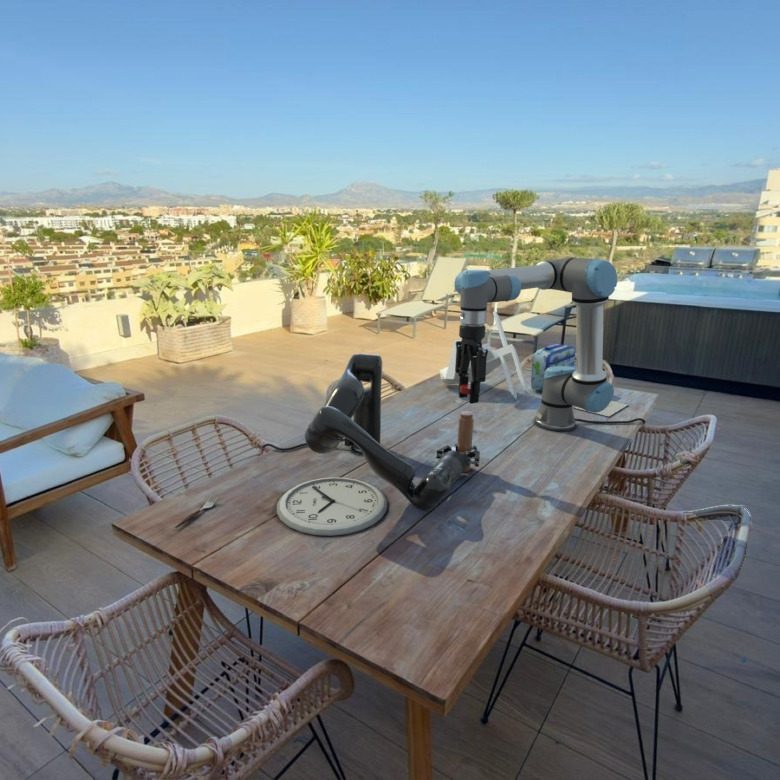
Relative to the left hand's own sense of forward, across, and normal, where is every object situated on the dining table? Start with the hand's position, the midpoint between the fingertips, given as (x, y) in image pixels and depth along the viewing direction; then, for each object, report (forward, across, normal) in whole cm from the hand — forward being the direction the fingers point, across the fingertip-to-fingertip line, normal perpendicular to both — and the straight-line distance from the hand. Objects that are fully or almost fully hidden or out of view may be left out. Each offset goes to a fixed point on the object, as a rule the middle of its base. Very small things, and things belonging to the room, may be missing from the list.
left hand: (467, 446), depth 166 cm
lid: (-2, 0, +20) cm, 21 cm away
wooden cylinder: (-3, 0, -6) cm, 7 cm away
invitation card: (+83, +35, -6) cm, 91 cm away
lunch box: (+101, +11, -6) cm, 102 cm away
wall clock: (-41, -25, -6) cm, 49 cm away
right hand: (-2, 0, +17) cm, 17 cm away
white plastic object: (+78, -18, -6) cm, 81 cm away
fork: (-61, -54, -6) cm, 82 cm away
